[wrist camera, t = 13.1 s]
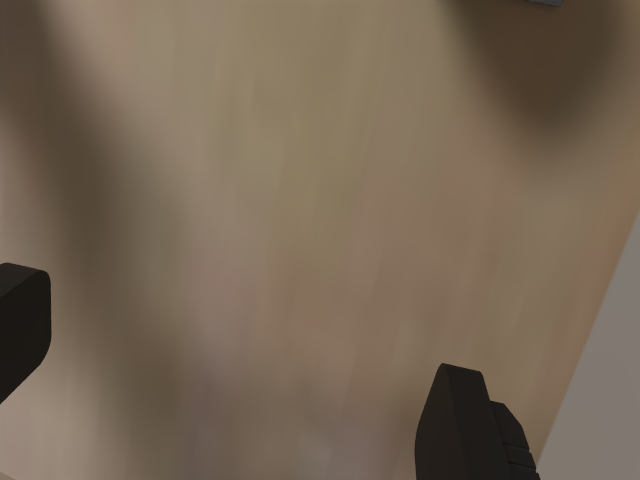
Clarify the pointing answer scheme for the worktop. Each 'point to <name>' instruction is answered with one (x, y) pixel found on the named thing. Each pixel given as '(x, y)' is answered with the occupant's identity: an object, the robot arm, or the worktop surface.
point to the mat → (549, 2)
